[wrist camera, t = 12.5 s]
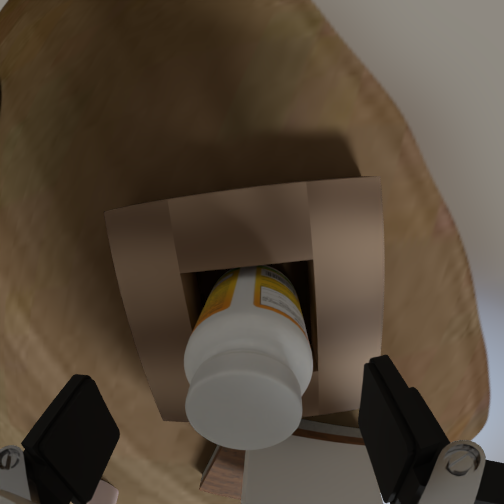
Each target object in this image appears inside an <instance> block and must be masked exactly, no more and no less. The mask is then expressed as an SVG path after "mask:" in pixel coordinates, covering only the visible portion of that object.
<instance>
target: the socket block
mask: <svg viewBox="0 0 504 504" xmlns="http://www.w3.org/2000/svg"><path fill="white" fill-rule="evenodd" d="M104 217H105V223H106V228H107V234H108V239H109V244H110V249H111V254H112V259H113V263H114V268H115V272H116V276H117V281H118V285H119V289H120V293H121V297H122V301H123V304H124V308H125V312H126V315H127V319H128V322H129V326H130V329H131V332H132V336H133V339H134V342H135V345H136V348H137V352H138V355H139V358H140V361H141V364H142V367H143V369H144V372H145V375H146V378H147V381H148V383H149V386H150V389H151V391H152V394H153V397H154V399H155V402H156V404H157V407H158V409H159V412H160V414H161V417H162V419H163V421H176V422H189V420H188V418H187V415H186V411H185V401H186V397H187V394H188V390H189V387H190V384H189V382H188V380H187V377H186V374H185V369H184V354H185V350H186V346H187V344H188V341H189V338H190V336H191V334H192V331H193V329H194V327H195V325H196V323H197V321H198V319H199V317H200V314H201V312H202V310H203V307H202V302H201V297H200V292H199V286H198V281H197V275H196V272H199V271H209V270H218V269H228V268H238V267H247V266H257V265H266V264H275V263H285V262H294V261H303V260H307V270H308V284H309V299H310V316H311V336H312V345H310V347H311V351H312V358H313V372H312V377H311V380H310V383H309V385H308V387H307V389H306V391H305V392H304V394H303V395H302V396H301V399H302V417H309V416H317V415H324V414H331V413H337V412H343V411H349V410H355V409H360V401H361V392H362V382H363V371H364V364H365V363H369V360H370V358H373V357H378V356H380V353H381V341H382V327H383V308H384V224H383V205H382V191H381V179H380V177H377V176H361V177H346V178H333V179H321V180H309V181H299V182H288V183H279V184H270V185H261V186H253V187H244V188H237V189H229V190H221V191H214V192H207V193H200V194H194V195H187V196H181V197H175V198H169V199H163V200H157V201H151V202H145V203H140V204H134V205H129V206H125V207H120V208H116V209H112V210H108V211H104Z"/></svg>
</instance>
